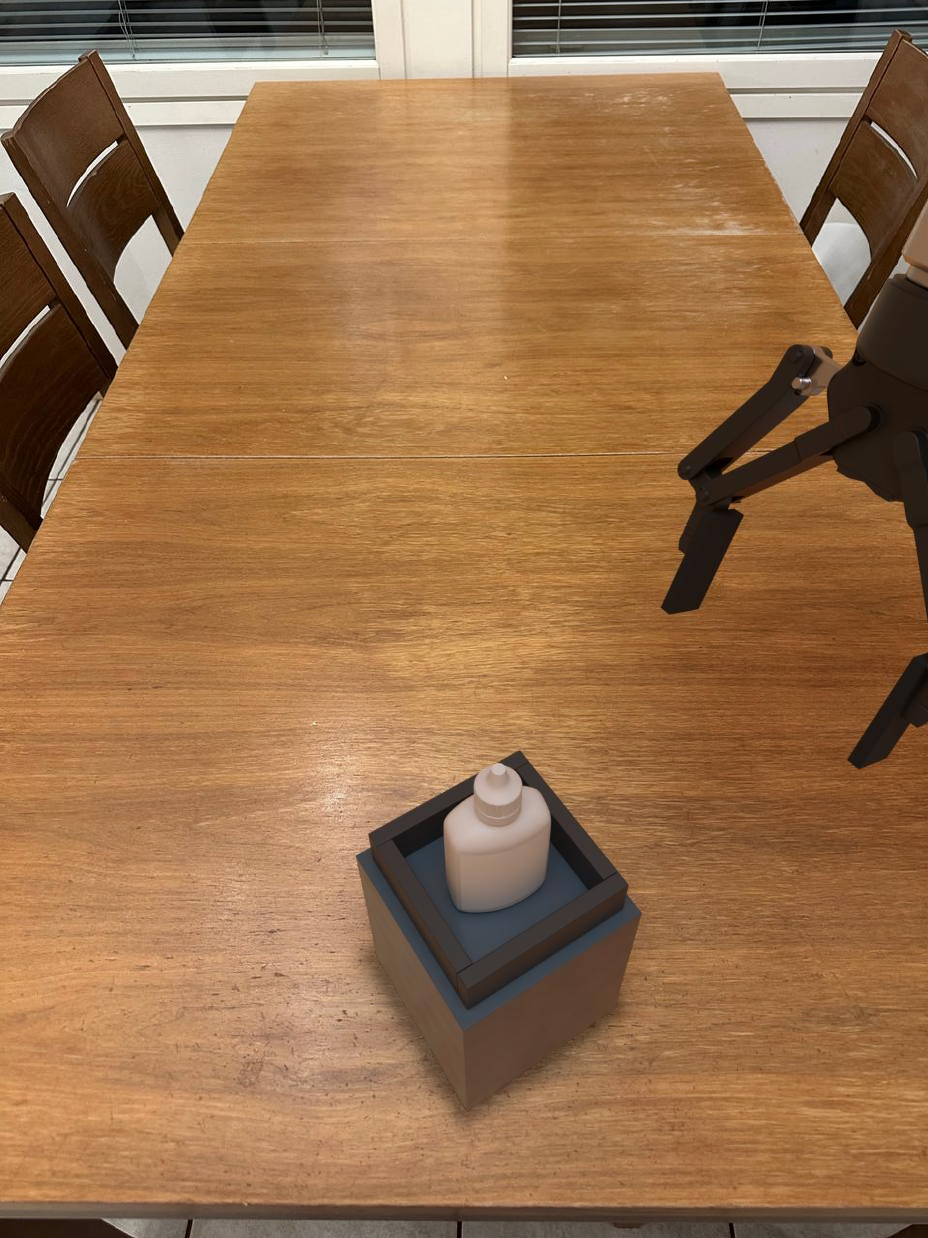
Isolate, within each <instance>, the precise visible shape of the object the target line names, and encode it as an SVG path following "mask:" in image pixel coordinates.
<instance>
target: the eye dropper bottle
mask: <svg viewBox="0 0 928 1238" xmlns="http://www.w3.org/2000/svg"><path fill="white" fill-rule="evenodd" d="M495 763H496V764H495ZM495 763H493V764H494V765H493V764H491V765H488V766H486V767H484V768H482V769H481V770H480V771H479V772H478V773H479V774H478V775H477V776H476V778H475V782H474V795H472V796H470V797H469V798H467V799H466V800H464V801H463V802H461V803H460V804H459V805H458V806H456V807H455V808H454V809H453V810H452V811H451V812H450V813H449V814H448V815H447V817H446V819H445V820H444V848H445V866H446V881H447V886H448V890H449V892H450V895H451V898H452V900H453V903H454V905H455V906H456V907H457V909H458V910H460V911H463V912H469V913H482V912H491V911H496V910H500V909H504V908H507V907H510V906H512V905H514V904H517V903H518V902H520V901H522V900H524V899H525V898H527V897H528V896H530V895H531V894H532V893H534V892H535V891H536V890H537V889H538V888H539V887H540V886H541V885H542V884H543V882H544V880H545V878H546V871H547V861H548V851H549V841H550V829H551V817H550V812H549V809H548V807H547V804H546V802H545V800H544V798H543V796H542V795H541V793H540V792H539V791H538V790H537V789H534V788H532V787H527V786H522V781H521V779H520V777H519V775H518V773H516V772H515V770H513V769H511V768H509V767H507V766H504V765H503V764H501V763H497V762H495Z"/></svg>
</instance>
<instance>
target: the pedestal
mask: <svg viewBox="0 0 928 1238" xmlns="http://www.w3.org/2000/svg"><path fill="white" fill-rule="evenodd" d="M496 763H501V764H503V765H504V766H507V767H509V768H511V769H513V770H515V772H516V773H518V775H519V777H520V779H521V781H522V786H527V787H532V788H534V789H537V790H538V791H539V792H540V793H541V795H542V796H543V798H544V800H545V802H546V804H547V807H548V809H549V812H550V817H551V829H550V841H549V851H548V861H547V871H546V878H545V880H544V882H543V884H542V885H541V886H540V887H539V888H538V889H537V890H536V891H535V892H534V893H532V894H531V895H530V896H528V897H527V898H525V899H524V900H522V901H520V902H518V903H517V904H514V905H512V906H510V907H507V908H504V909H500V910H496V911H491V912H482V913H469V912H463V911H460V910H458V909H457V907H456V906H455V905H454V903H453V900H452V898H451V895H450V892H449V890H448V886H447V881H446V866H445V848H444V820H445V819H446V817H447V815H448V814H449V813H450V812H451V811H452V810H453V809H454V808H455V807H456V806H458V805H459V804H460V803H461V802H463V801H464V800H466V799H467V798H469V797H470V796H472V795H474V782H475V778H476V776H477V775H478V774H479V772H476V773H475V774H473V775H472V776H470V777H468V778H466V779H464V780H463V781H461V782H459V783H457V784H455V785H454V786H451V787H450V788H447V789H446V790H444V791H443V792H441V793H439V794H437V795H436V796H435V795H434V797H431V798H430V799H428V800H426V801H425V802H423V803H421V804H419V805H417V806H416V807H414V808H412V809H409V810H408V811H406V812H405V813H402V814H401V815H399V816H397V817H396V818H394V819H392V820H390V821H389V822H387V823H385V824H382V825H381V826H379V827H377V828H376V829H374V830H372V831H370V832H368V833H367V835H368V841H369V846H370V847H368V848H366V849H365V850H363V851H361V852H360V853H359V852H358V854H356V855H355V859H356V863H357V869H358V874H359V878H360V883H361V888H362V893H363V897H364V903H365V907H366V912H367V916H368V921H369V927H370V931H371V935H372V940H373V941H372V942H373V945H374V951H375V954H376V958H377V960H378V961H379V963H380V965H381V966H382V968H383V970H384V972H385V974H386V976H387V977H388V979H389V981H390V982H391V984H392V986H393V987H394V989H395V991H396V992H397V994H398V996H399V998H400V999H401V1001H402V1003H403V1005H404V1006H405V1008H406V1010H407V1012H408V1013H409V1015H410V1017H411V1018H412V1021H414V1024H415V1025H416V1027H417V1028H418V1030H419V1032H420V1034H421V1035H422V1038H423V1039H424V1041H425V1042H426V1044H427V1046H428V1047H429V1050H430V1051H431V1053H432V1054H433V1056H434V1057H435V1060H436V1061H437V1063H438V1065H439V1066H440V1068H441V1070H442V1071H443V1073H444V1074H445V1075H444V1076H445V1077H446V1078H447V1080H448V1082H449V1083H450V1085H451V1087H452V1089H453V1090H454V1092H455V1094H456V1095H457V1097H458V1099H459V1101H460V1102H461V1104H462V1106H463V1108H464V1110H465V1111H466V1112H469V1111H471V1110H472V1109H474V1107H476V1106H478V1105H479V1104H481V1103H482V1102H483V1101H485V1100H486V1099H488V1098H489V1097H491V1096H492V1095H494V1094H495V1093H496V1092H497V1091H499V1090H501V1089H502V1088H503V1087H505V1086H506V1085H508V1084H509V1083H511V1082H512V1081H513V1080H515V1079H516V1078H518V1077H519V1076H521V1075H522V1074H524V1073H525V1072H526V1071H528V1070H529V1069H531V1068H532V1067H534V1066H535V1065H536V1064H538V1063H540V1061H542V1060H543V1059H545V1058H547V1056H549V1055H551V1054H552V1053H553V1052H555V1051H556V1050H557V1049H559V1048H560V1047H562V1046H564V1045H565V1044H566V1043H568V1042H569V1041H571V1040H572V1039H574V1038H575V1037H576V1036H578V1035H579V1034H580V1033H582V1032H584V1031H585V1030H587V1029H588V1028H589V1027H590V1026H592V1025H594V1024H595V1023H597V1022H598V1021H599V1020H601V1019H603V1018H604V1017H605V1016H606V1015H608V1014H609V1013H610V1012H612V1011H613V1010H615V1009H616V1006H617V1002H618V999H619V996H620V992H621V987H622V985H623V980H624V977H625V974H626V971H627V967H628V964H629V960H630V956H631V954H632V950H633V946H634V942H635V939H636V935H637V932H638V928H639V926H640V921H641V919H642V915H643V912H642V911H641V910H640V909H639V907H638V906H637V905H636V903H635V902H634V901H633V900H632V898H631V897H630V896H629V895H628V890H629V887H630V886H629V885H630V884H629V883H628V882H627V881H626V880H625V878H624V877H623V875H622V874H621V873H620V872H619V871H618V869H617V868H616V866H615V865H614V864H613V863H612V862H611V860H610V859H609V858H608V857H607V855H606V854H605V853H604V852H603V851H602V850H601V848H600V847H599V846H598V844H597V843H596V842H595V840H593V838H592V837H591V836H590V835H589V833H588V832H587V831H586V830H585V828H584V827H583V826H582V824H580V822H579V821H578V820H577V818H576V817H575V816H574V815H573V814H572V812H571V811H570V810H569V808H568V807H567V806H566V805H565V804H564V803H563V801H562V800H561V798H559V796H558V795H557V794H556V793H555V791H554V790H553V789H552V788H551V786H550V785H549V784H548V783H547V782H546V780H545V779H544V778H543V777H542V775H541V774H540V773H539V771H538V770H537V769H536V768H535V767H534V766H533V764H532V763H531V762H530V761H529V759H528V758H527V757H526V756H525V754H524V753H523V752H522V751H521V749H518V750H517V751H515V752H513V753H511V754H509V755H508V756H506V757H504V758H502V759H501V760H499V761H497V762H495V763H493V764H492V765H494V764H496Z"/></svg>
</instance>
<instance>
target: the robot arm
mask: <svg viewBox="0 0 928 1238" xmlns="http://www.w3.org/2000/svg"><path fill="white" fill-rule="evenodd" d="M901 256H902V257H903V260H904V262H905V263H907V264H909V266H908V268H907V270H906V272H905V273H901V272H897V273H894V275H893V276H892V278H891V277H889V278H886V280H885V282H884V283H883V286H882V288H881V290H880V292H879V294H878V296H877V297H876V300H875V302H874V304H873V306H872V308H871V310H870V312H869V314H868V316H867V318H866V319H865V322H864V323H863V325H862V326H863V327H862V328H861V330H860V331H859V333H858V336H857V338H856V341H855V348H854V350H853V351H854V352H853V354H852V356H851V358H850V359H849V360H848V362H847V363H846V364H845V365H842V364H840V363H838V362H837V361H836V360H834V355H833V351H832V350H831V348H830V347H828V346H823V345H813V344H812V345H811V344H803V343H802V344H801V343H798V344H796V343H795V344H792V345H790V346H789V347H788V348H787V350H786V351H785V352H784V355H782V358H781V360H780V361H779V363H778V365H777V367H776V368H775V370H774V371H773V373H772V375H771V377H770V378H769V380H768V381H767V382H765V384H764V385H762V386H761V387H760V388H758V390H757V391H756V392H755V393H754V394H752V395H751V396H750V397H749V398H748V399H747V400H746V401H745V402H744V403H743V404H741V406H739V407H738V408H737V409H736V410H735V411H734V412H732V414H730V416H728V417H727V418H726V419H725V420H724V421H723V422H722V423H720V425H718V426H717V427H716V428H715V429H714V430H713V431H712V432H711V433H710V434H709V435H707V436H706V437H705V438H704V439H703V440H702V441H701V442H700V443H699V444H697V445H696V446H695V447H694V448H693V449H692V450H691V451H690V452H689V453H688V454H686V456H684V457H683V458H682V459H681V460H680V461H679V462H678V464H677V466H676V467H677V468H676V469H677V471H676V472H677V475H678V477H679V478H680V479H681V480H683V481H688V483H689V485H690V486H691V488H692V489H693V491H694V492H695V504H694V506H693V509H692V510H691V513H690V515H689V518H688V519H687V521H686V525H685V526H684V528H683V530H682V533H681V535H680V537H679V539H678V548H677V550H678V551H679V552H681V553H683V554H684V556H683V558H682V559H681V562H680V563H679V566H678V568H677V570H676V573H675V574H674V576H673V579H672V582H671V583H670V585H669V588H668V590H667V593H666V595H665V596H664V599H663V601H662V603H661V605H660V607H659V608H660V609H661V610H663V611H664V612H665V613H666V614H667V615H669V616H671V615H677V614H681V613H686V612H692V611H697V610H699V609H700V607H701V605H702V603H703V601H704V600H705V597H706V595H707V593H708V591H709V589H710V587H711V584H712V582H713V581H714V579H715V577H716V574H717V572H718V571H719V568H720V566H721V564H722V562H723V560H724V558H725V556H726V554H727V552H728V550H729V548H730V545H731V543H732V541H733V539H734V537H735V535H736V534H737V531H738V529H739V527H740V525H741V523H742V521H743V519H744V517H745V514H743V513H742V512H740V511H739V510H738V509H736V508H730V506H731V505H734V504H735V505H736V504H741V503H742V500H745V499H747V498H749V497H751V496H753V495H756V494H758V493H760V492H762V491H765V490H767V489H770V488H772V487H774V486H776V485H779V484H781V483H783V482H785V481H788V480H790V479H792V478H794V477H796V476H798V475H801V474H802V473H806V472H808V471H810V470H812V469H814V468H817V467H819V466H821V465H823V464H827V463H828V462H832V461H834V463H835V465H836V466H837V468H836V470H835V471H836V472H837V473H839V474H841V475H842V476H844V477H846V478H847V479H849V480H853V481H857V482H862V483H864V484H865V485H866V486H867V488H869V489H870V490H871V492H873V493H874V494H875V495H876V496H878V497H879V498H881V499H883V500H884V501H885V502H888V503H891V502H892V503H893V502H894V503H895V502H898V503H903V509H904V516H905V520H906V524H907V525H908V527H909V528H910V529H911V530H912V533H913V538H914V544H915V550H916V557H917V563H918V571H919V575H920V582H921V588H922V594H923V601H924V608H925V614H926V620H927V622H928V198H927V199H926V201H925V203H924V206H923V208H922V210H921V211H920V214H919V215H918V218H917V220H916V221H915V223H914V226H913V227H912V229H911V231H910V234H909V236H908V238H907V240H906V242H905V243H904V245H903V247H902V249H901ZM825 389H826V403H827V416H828V417H827V418H828V421H825V422H824V423H822V424H819V425H817V426H816V427H813V428H812V429H810V430H807V431H805V432H803V433H800V434H799V435H797V436H795V437H794V438H793V440H791V441H790V442H788V443H786V444H784V445H781V446H779V447H777V448H775V449H773V450H771V451H769V452H767V453H765V454H763V455H760V456H758V457H757V458H755V459H753V460H750V461H749V462H746V463H743V464H742V465H740V466H738V467H736V468H734V469H731V470H730V471H728V472H725V471H726V470H728V468H729V467H731V466H732V465H733V464H734V463H735V462H737V461H738V460H739V459H740V458H741V457H742V456H744V455H745V454H746V453H747V452H748V451H750V450H751V449H752V448H753V447H754V446H755V445H757V444H758V443H759V442H760V441H761V440H763V439H764V438H765V437H766V436H767V435H768V434H769V433H771V432H772V431H773V430H774V429H775V428H777V427H778V426H779V425H780V424H781V423H782V422H784V421H785V420H786V419H787V418H788V417H790V415H792V414H794V412H795V411H797V410H798V409H799V408H800V407H801V406H802V405H803V404H804V403H805V402H807V400H808V399H809V398H810V397H815V396H819V395H821V393H822V392H823V391H824V390H825ZM724 472H725V473H724ZM910 725H912V726H913V727H915V728H916V729H918V728H921V727H923V726H926V725H928V652H925V653H922V654H918V655H915V656H913V657H912V658H911V660H910V661H909V663H908V664H907V666H906V667H905V668H904V671H903V672H902V674H901V675H900V677H899V678H898V680H897V682H896V683H895V685H894V686H893V688H892V689H891V691H890V692H889V693H888V695H887V697H886V699H885V700H884V701H883V703H882V705H881V706H880V708H879V710H878V711H877V713H876V714H875V715H874V717H873V718H872V720H871V721H870V723H869V725H868V727H867V728H866V729H865V731H864V732H863V734H862V736H861V737H860V739H859V740H858V741H857V742H856V745H855V746H854V748H853V750H852V751H851V752H850V753H849V755H848V757H847V759H846V761H847V762H849V763H850V764H851V765H852V766H853V767H855V769H857V770H858V771H860V770H862V769H864V768H867V767H869V766H872V765H874V764H877V763H879V762H881V761H884V760H885V759H887V758H888V757H889V755H890V754H891V753H892V751H893V750H894V748H895V747H896V745H897V744H898V743H899V741H900V739H901V738H902V737H903V735H904V734H905V732H906V731H907V729H908V728H909V726H910Z"/></svg>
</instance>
